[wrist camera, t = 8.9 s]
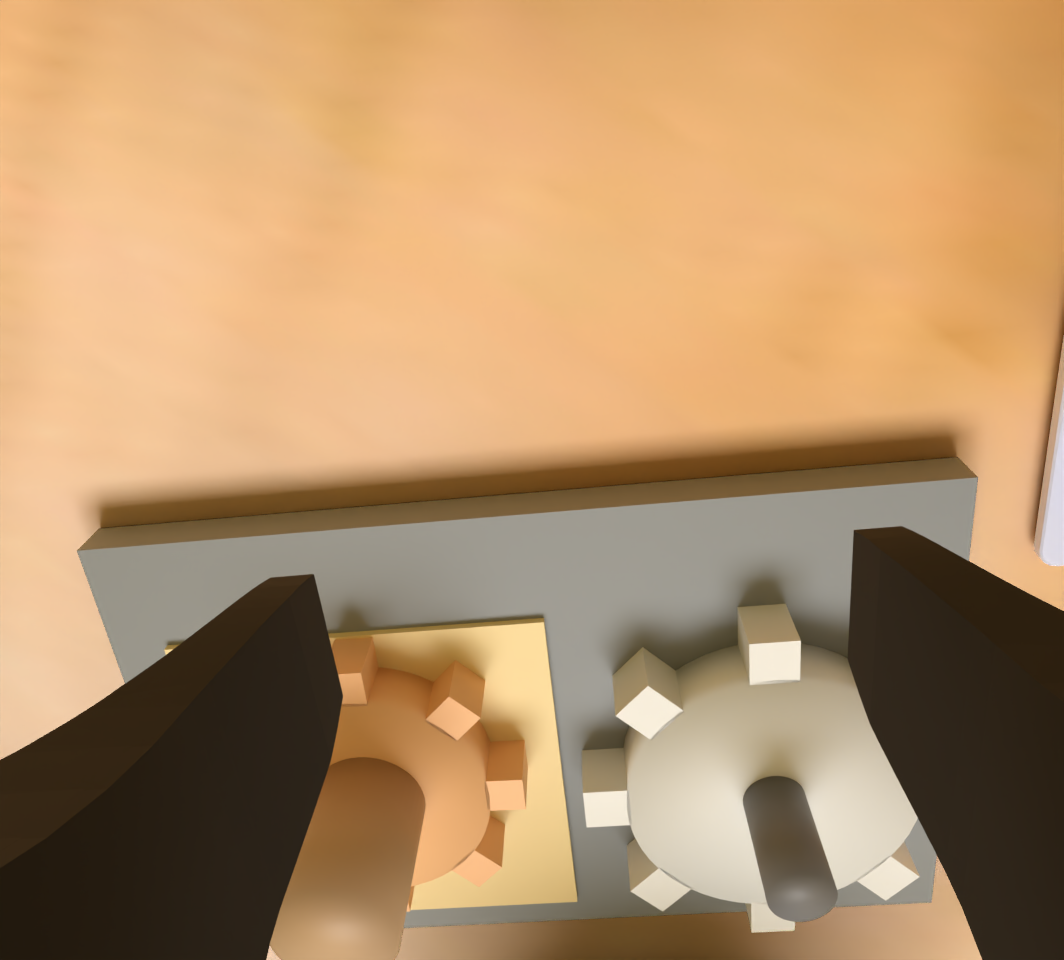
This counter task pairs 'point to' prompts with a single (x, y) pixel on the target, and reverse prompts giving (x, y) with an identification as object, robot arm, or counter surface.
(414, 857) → the wood gear
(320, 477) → the counter surface
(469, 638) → the gear board
